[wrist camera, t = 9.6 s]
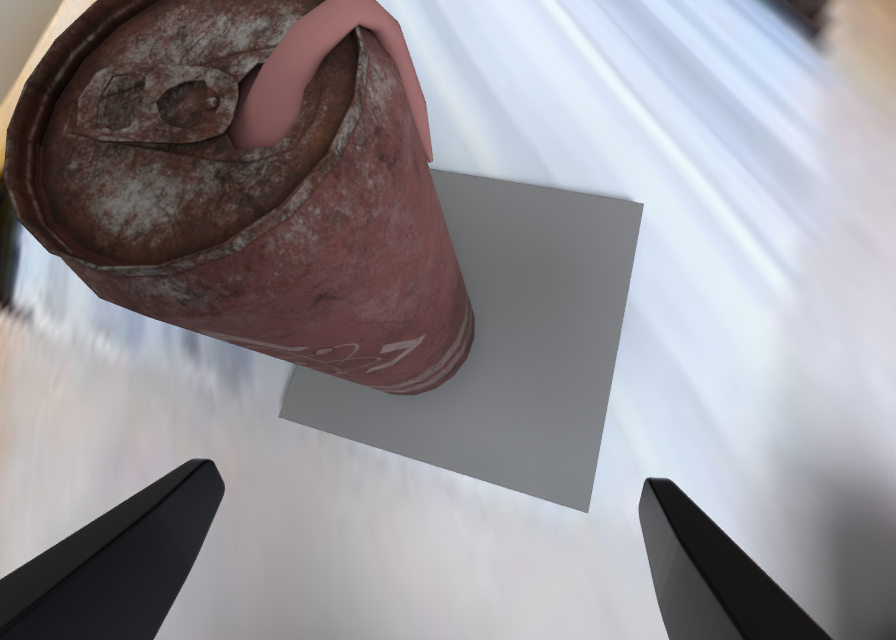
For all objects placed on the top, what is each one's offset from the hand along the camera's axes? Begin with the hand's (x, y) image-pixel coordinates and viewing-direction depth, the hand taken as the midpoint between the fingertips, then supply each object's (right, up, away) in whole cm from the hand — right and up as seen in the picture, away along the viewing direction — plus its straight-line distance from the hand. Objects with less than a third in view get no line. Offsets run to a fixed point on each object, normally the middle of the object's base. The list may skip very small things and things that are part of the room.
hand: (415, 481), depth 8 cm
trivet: (+1, +4, +11) cm, 12 cm away
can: (-1, +3, +11) cm, 11 cm away
